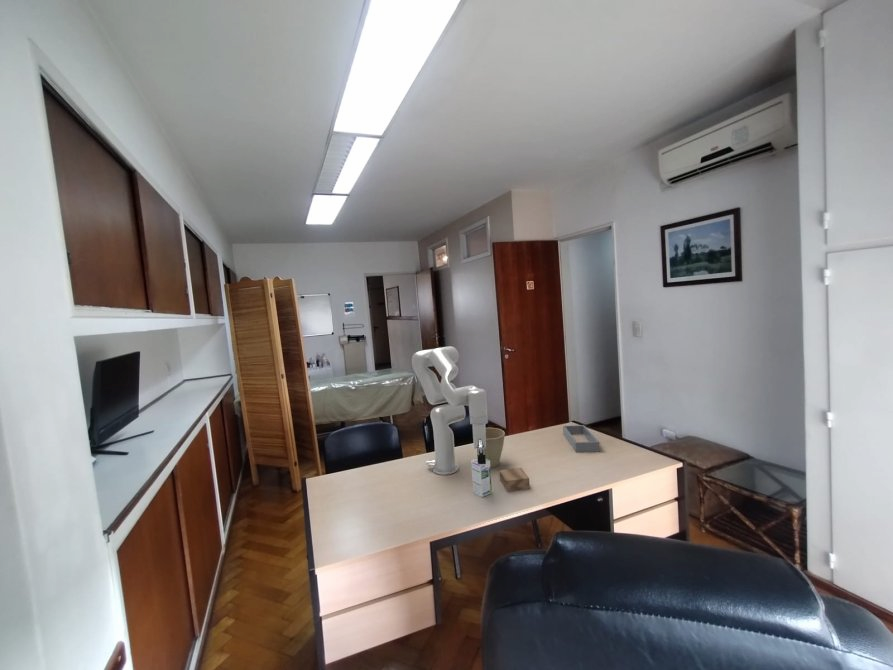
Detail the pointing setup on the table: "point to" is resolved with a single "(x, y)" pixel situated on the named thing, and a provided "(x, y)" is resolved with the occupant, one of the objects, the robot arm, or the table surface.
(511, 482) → the walnut block
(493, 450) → the plant pot
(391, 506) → the table surface
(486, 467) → the syrup box
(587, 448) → the frame
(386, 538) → the table surface
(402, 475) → the table surface
